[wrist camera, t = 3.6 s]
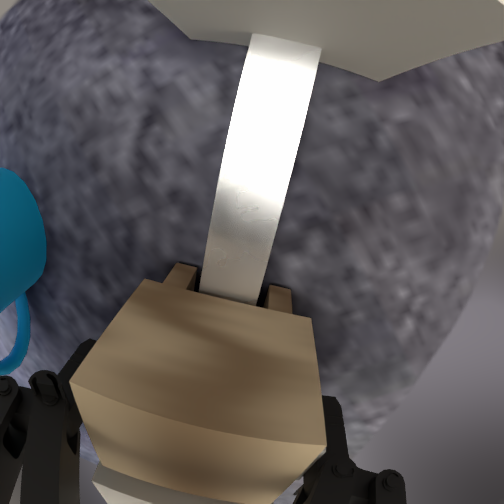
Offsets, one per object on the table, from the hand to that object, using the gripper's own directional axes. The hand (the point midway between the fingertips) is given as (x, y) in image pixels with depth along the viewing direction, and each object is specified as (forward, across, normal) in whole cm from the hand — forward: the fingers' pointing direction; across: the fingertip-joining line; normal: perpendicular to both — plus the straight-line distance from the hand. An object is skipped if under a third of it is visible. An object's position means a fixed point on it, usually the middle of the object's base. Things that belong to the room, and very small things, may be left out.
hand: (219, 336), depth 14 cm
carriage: (+1, 0, 0) cm, 1 cm away
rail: (+1, 0, +4) cm, 5 cm away
